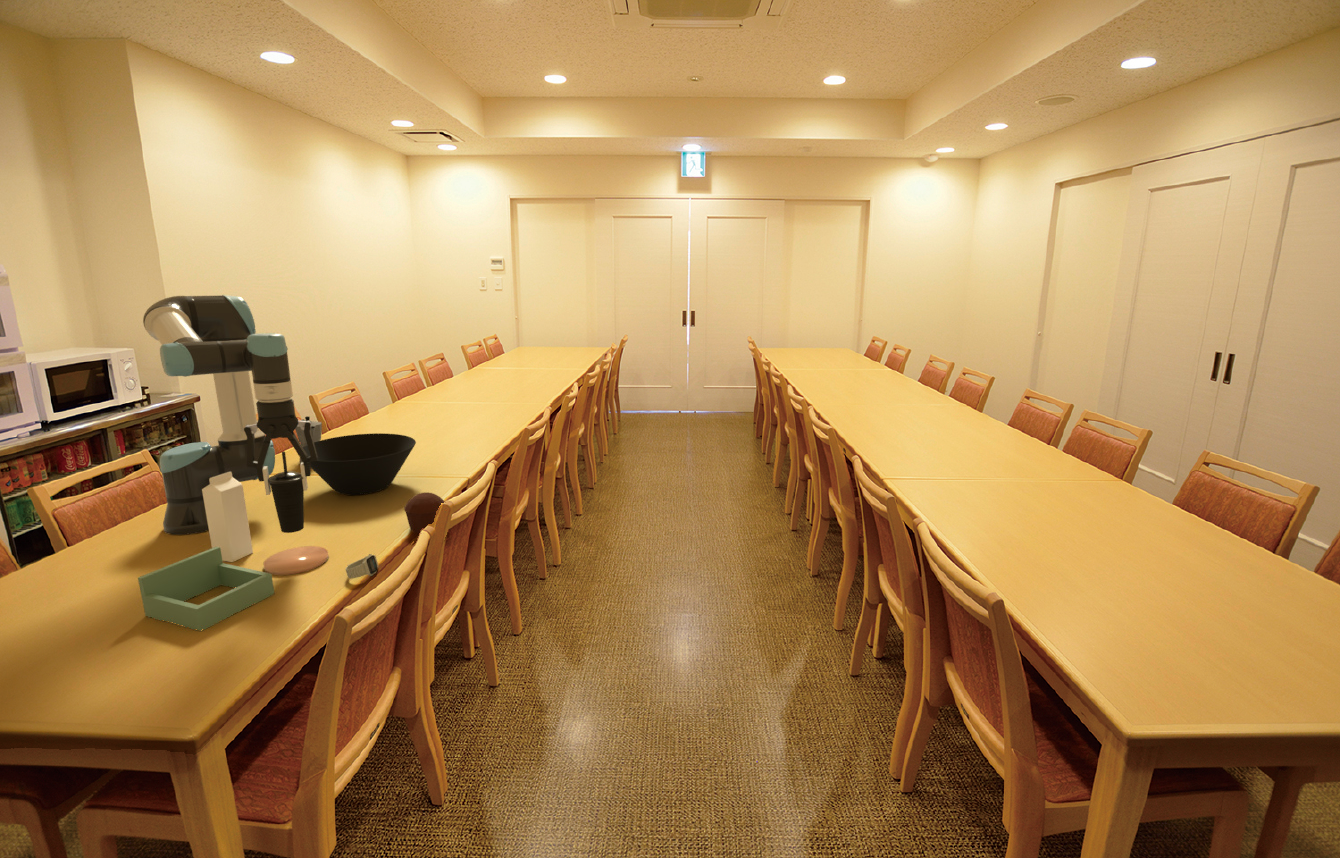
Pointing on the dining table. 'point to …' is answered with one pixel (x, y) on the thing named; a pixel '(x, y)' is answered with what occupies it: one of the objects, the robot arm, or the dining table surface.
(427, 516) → the muffin
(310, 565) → the saucer
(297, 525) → the drinking cup
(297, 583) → the dining table surface
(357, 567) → the wristwatch
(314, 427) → the coffeepot
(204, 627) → the frame
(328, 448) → the bowl
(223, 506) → the milk
